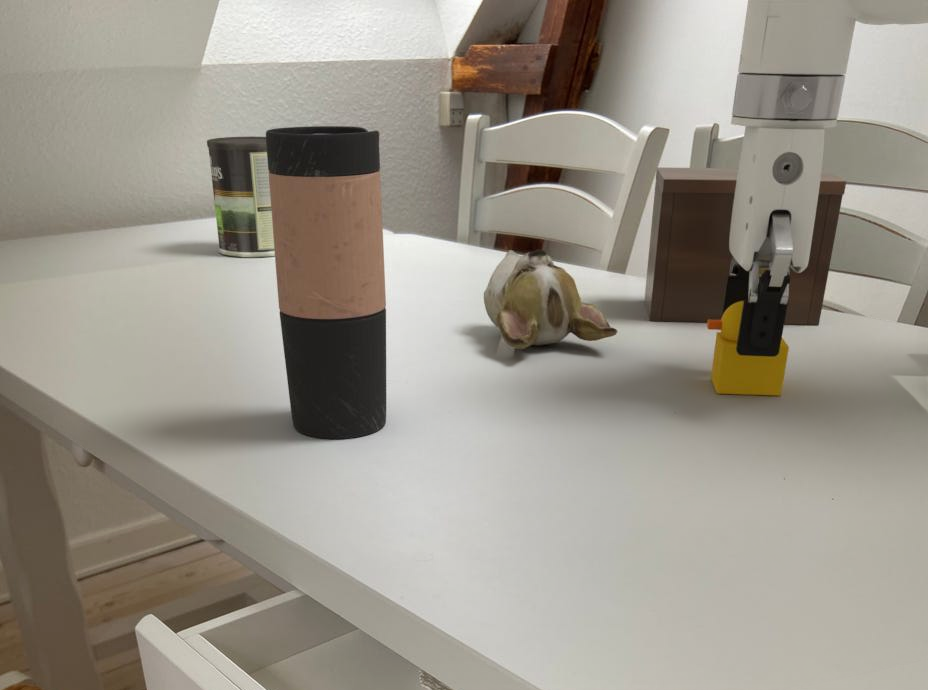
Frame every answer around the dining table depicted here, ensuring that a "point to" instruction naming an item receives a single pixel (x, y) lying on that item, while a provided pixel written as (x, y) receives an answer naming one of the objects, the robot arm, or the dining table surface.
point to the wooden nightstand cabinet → (722, 247)
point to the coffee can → (242, 196)
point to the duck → (743, 361)
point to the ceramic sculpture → (539, 303)
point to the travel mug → (330, 276)
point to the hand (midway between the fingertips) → (747, 339)
